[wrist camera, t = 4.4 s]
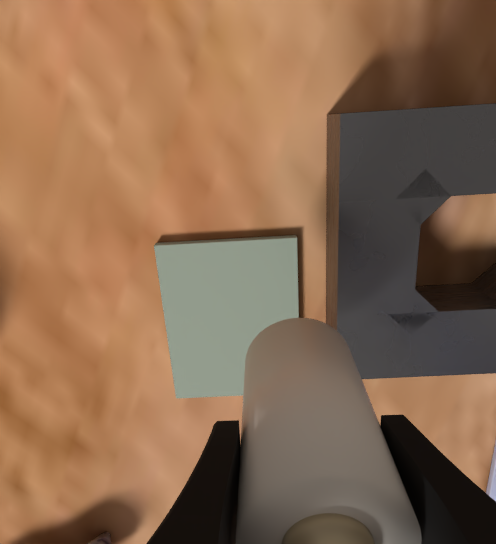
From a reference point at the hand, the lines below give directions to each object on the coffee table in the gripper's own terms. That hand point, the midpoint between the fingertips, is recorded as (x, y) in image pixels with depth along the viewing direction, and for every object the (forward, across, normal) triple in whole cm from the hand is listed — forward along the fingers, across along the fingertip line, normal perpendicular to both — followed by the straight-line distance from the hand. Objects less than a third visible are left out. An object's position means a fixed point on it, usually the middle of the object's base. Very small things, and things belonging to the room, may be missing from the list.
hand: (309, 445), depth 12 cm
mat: (+10, +3, +1) cm, 11 cm away
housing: (+10, -8, -3) cm, 14 cm away
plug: (+4, 0, 0) cm, 4 cm away
